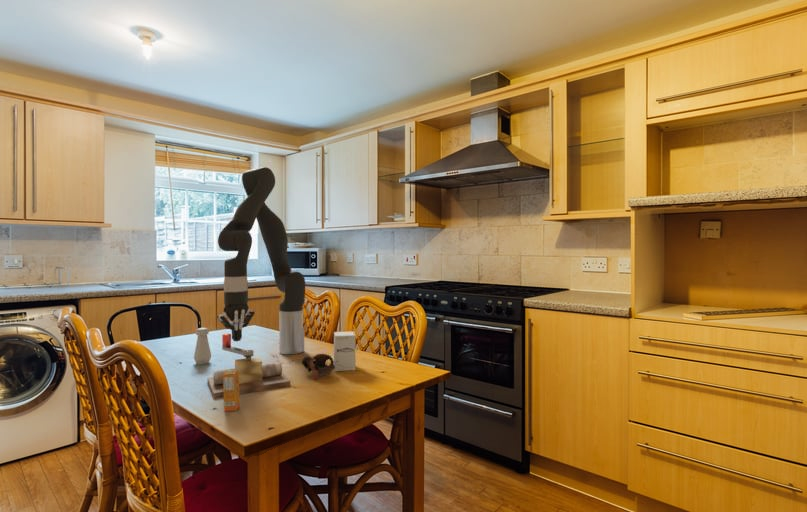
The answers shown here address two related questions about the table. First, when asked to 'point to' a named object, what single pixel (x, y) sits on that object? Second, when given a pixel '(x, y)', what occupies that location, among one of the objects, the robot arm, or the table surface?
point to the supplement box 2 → (344, 351)
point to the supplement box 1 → (231, 391)
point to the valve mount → (250, 377)
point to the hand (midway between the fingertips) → (236, 340)
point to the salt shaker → (202, 347)
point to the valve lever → (227, 347)
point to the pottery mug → (318, 365)
